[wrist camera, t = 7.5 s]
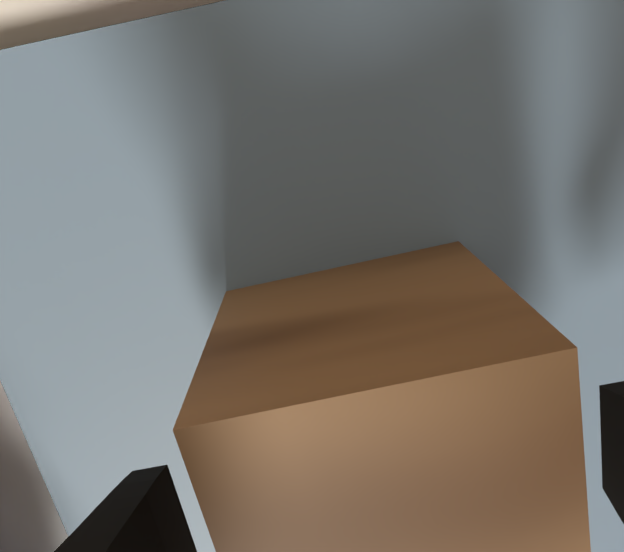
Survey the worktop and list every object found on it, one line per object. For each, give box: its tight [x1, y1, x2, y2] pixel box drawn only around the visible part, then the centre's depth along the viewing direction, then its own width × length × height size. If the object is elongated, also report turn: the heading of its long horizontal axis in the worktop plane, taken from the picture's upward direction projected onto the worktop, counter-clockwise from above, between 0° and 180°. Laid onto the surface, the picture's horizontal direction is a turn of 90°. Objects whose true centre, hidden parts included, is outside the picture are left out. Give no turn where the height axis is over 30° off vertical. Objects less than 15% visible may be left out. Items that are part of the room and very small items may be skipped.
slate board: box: [0, 0, 624, 552], centre depth 12 cm, size 16×16×1 cm
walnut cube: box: [173, 241, 591, 552], centre depth 10 cm, size 5×5×5 cm
